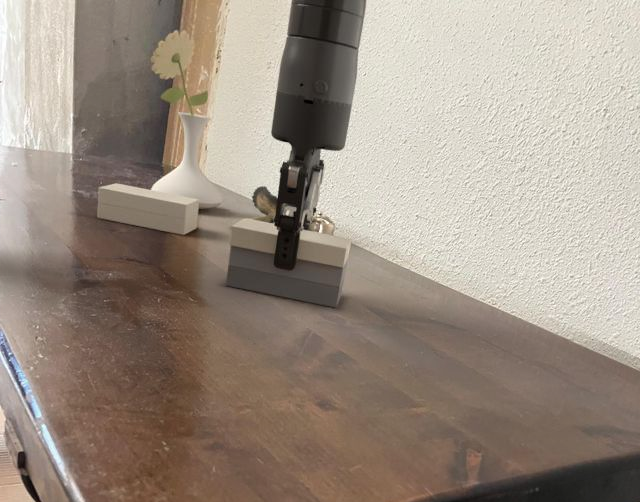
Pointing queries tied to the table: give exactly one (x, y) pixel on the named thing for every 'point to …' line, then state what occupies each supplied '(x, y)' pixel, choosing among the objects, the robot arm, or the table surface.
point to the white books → (147, 208)
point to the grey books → (285, 277)
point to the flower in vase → (184, 123)
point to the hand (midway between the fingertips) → (289, 261)
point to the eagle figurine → (265, 204)
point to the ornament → (322, 224)
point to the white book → (310, 242)
